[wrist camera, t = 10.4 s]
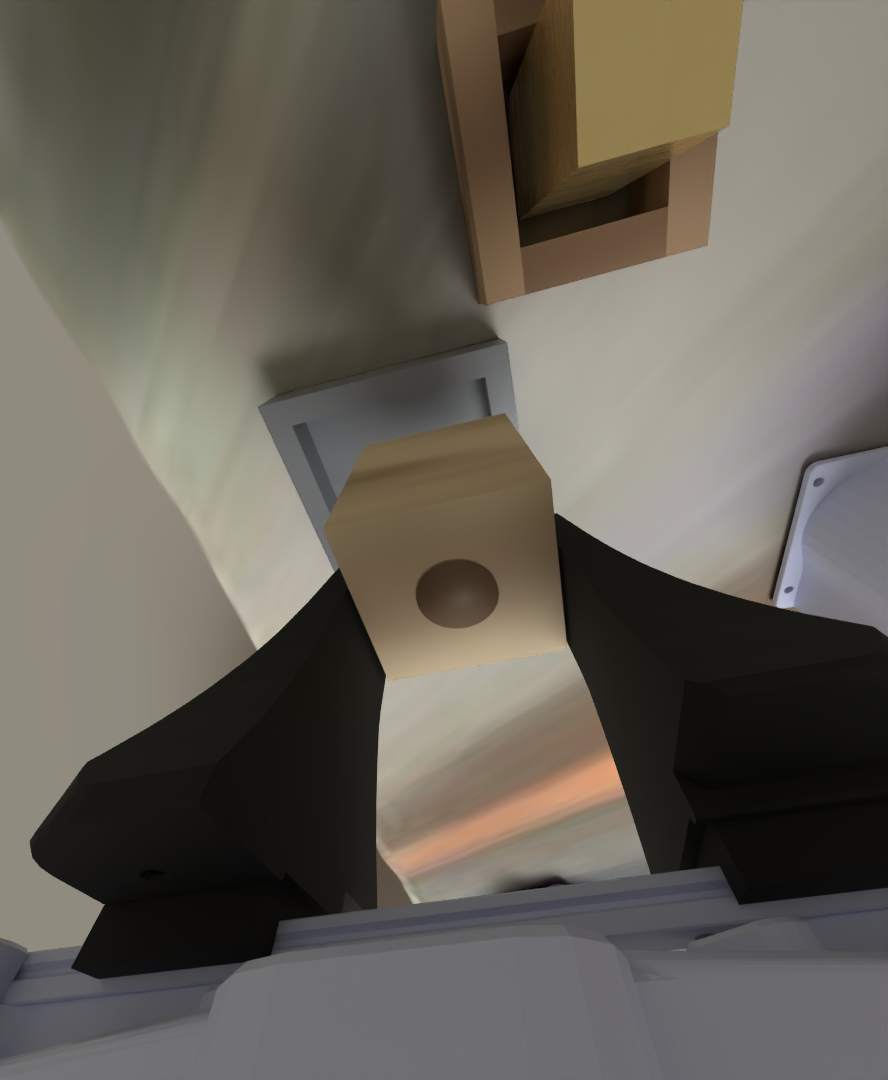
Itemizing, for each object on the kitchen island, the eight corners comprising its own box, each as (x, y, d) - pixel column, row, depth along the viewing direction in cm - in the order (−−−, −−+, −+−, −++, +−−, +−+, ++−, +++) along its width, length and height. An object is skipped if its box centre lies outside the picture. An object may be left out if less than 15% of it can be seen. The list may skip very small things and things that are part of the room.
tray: (527, 536, 22) (536, 558, 20) (353, 572, 23) (346, 597, 21) (498, 337, 17) (506, 342, 15) (276, 395, 18) (258, 407, 16)
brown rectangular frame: (661, 254, 15) (707, 245, 13) (478, 303, 16) (487, 304, 14) (674, -39, 12) (741, -133, 9) (435, 42, 12) (436, -25, 10)
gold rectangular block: (606, 196, 14) (729, 125, 9) (519, 219, 15) (578, 167, 9) (606, 69, 13) (757, -128, 7) (507, 99, 13) (570, -65, 7)
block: (523, 536, 14) (568, 651, 10) (403, 561, 15) (388, 683, 10) (504, 413, 12) (551, 480, 7) (364, 446, 13) (321, 530, 8)
